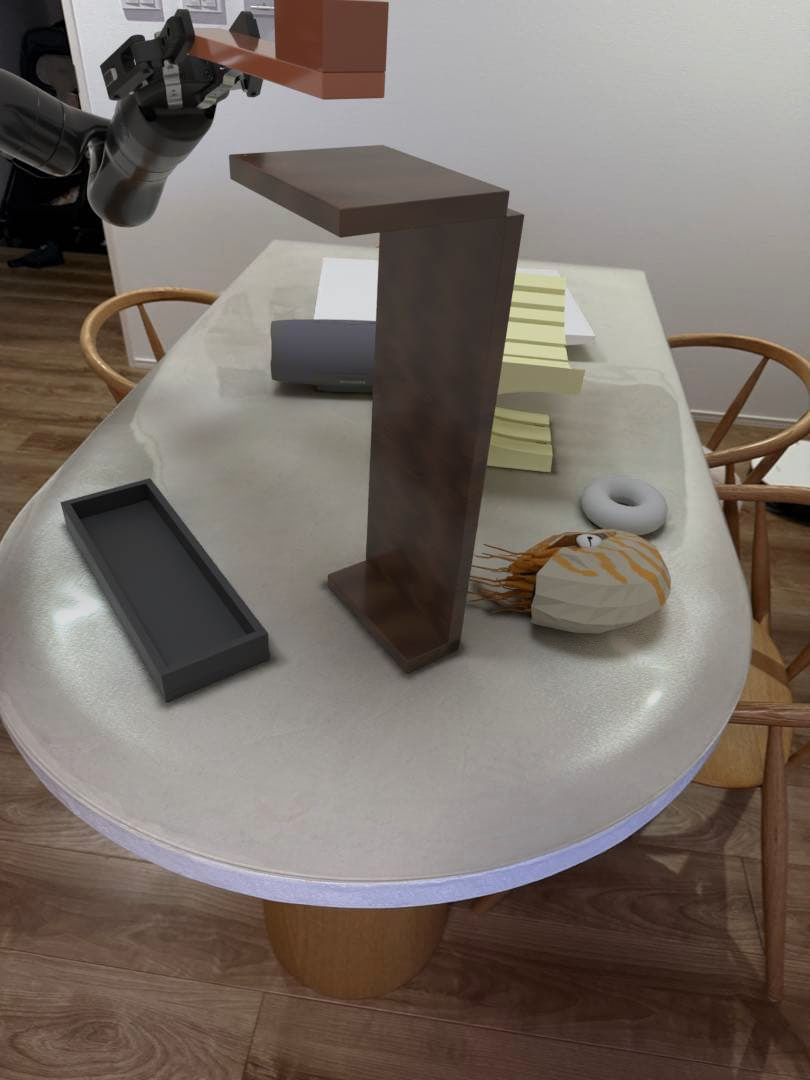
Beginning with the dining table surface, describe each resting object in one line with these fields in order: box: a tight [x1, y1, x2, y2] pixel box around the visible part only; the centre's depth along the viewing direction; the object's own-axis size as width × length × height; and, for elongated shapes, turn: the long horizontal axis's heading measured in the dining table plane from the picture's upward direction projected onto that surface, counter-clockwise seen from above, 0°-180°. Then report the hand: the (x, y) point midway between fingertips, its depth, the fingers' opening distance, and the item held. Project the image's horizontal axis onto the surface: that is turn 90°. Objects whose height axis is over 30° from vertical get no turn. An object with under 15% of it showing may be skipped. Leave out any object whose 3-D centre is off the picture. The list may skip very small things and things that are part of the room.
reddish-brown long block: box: [187, 0, 390, 101], centre depth 52 cm, size 24×4×5 cm, turn 35°
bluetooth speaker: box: [269, 318, 376, 394], centre depth 110 cm, size 23×9×10 cm, turn 94°
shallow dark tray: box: [60, 477, 270, 703], centre depth 74 cm, size 29×10×3 cm, turn 35°
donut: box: [580, 474, 669, 536], centre depth 89 cm, size 10×4×10 cm
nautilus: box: [467, 528, 672, 635], centre depth 75 cm, size 8×22×15 cm
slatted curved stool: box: [487, 273, 586, 473], centre depth 97 cm, size 30×16×18 cm, turn 174°
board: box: [313, 256, 596, 346], centre depth 135 cm, size 45×32×5 cm
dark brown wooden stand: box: [228, 144, 525, 674], centre depth 60 cm, size 14×14×40 cm
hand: (220, 24), depth 57 cm, fingers closed on reddish-brown long block, 4 cm apart
